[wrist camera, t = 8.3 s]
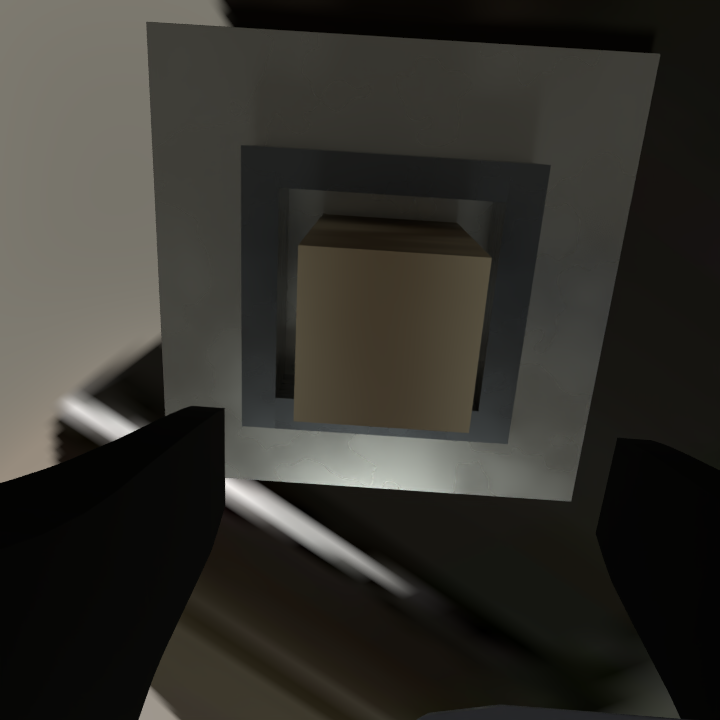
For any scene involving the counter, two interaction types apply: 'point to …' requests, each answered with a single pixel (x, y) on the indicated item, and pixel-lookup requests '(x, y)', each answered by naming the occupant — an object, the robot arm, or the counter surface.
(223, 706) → the counter surface
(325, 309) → the beige rectangular block
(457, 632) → the counter surface
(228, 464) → the socket plate
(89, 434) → the counter surface
